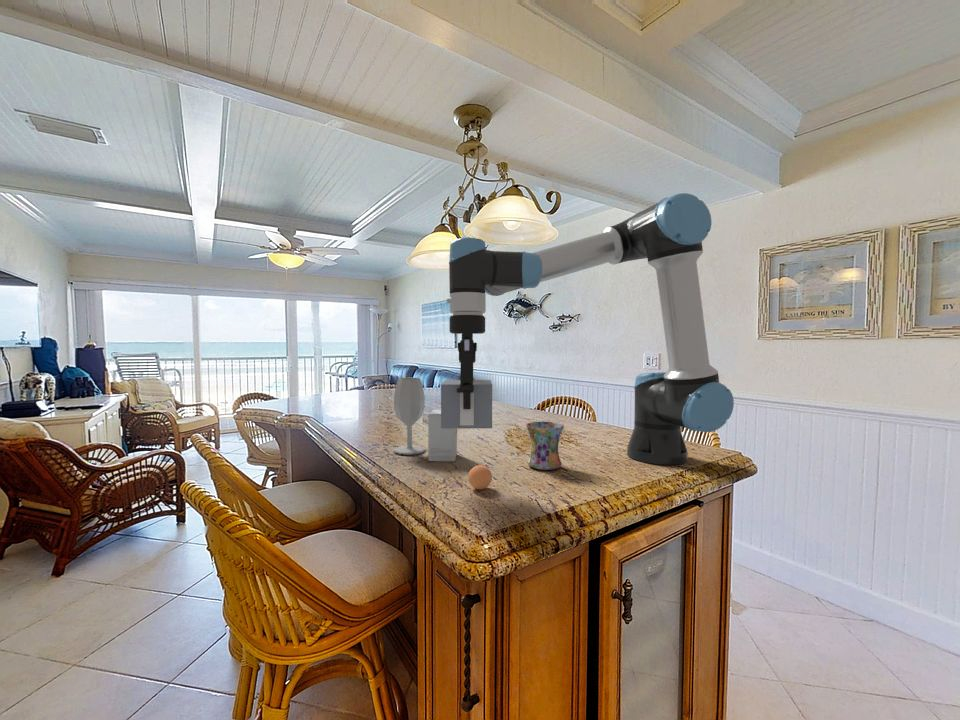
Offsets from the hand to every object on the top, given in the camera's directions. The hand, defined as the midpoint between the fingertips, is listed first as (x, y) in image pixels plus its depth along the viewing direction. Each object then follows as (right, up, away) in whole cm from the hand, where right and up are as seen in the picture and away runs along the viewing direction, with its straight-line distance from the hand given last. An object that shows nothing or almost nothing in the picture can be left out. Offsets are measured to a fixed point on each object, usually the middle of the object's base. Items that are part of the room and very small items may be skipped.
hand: (467, 419), depth 88 cm
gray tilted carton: (0, -1, 0) cm, 1 cm away
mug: (+19, -14, +18) cm, 30 cm away
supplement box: (-7, -14, +25) cm, 29 cm away
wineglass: (-17, -14, +30) cm, 38 cm away
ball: (+3, -12, 0) cm, 13 cm away
